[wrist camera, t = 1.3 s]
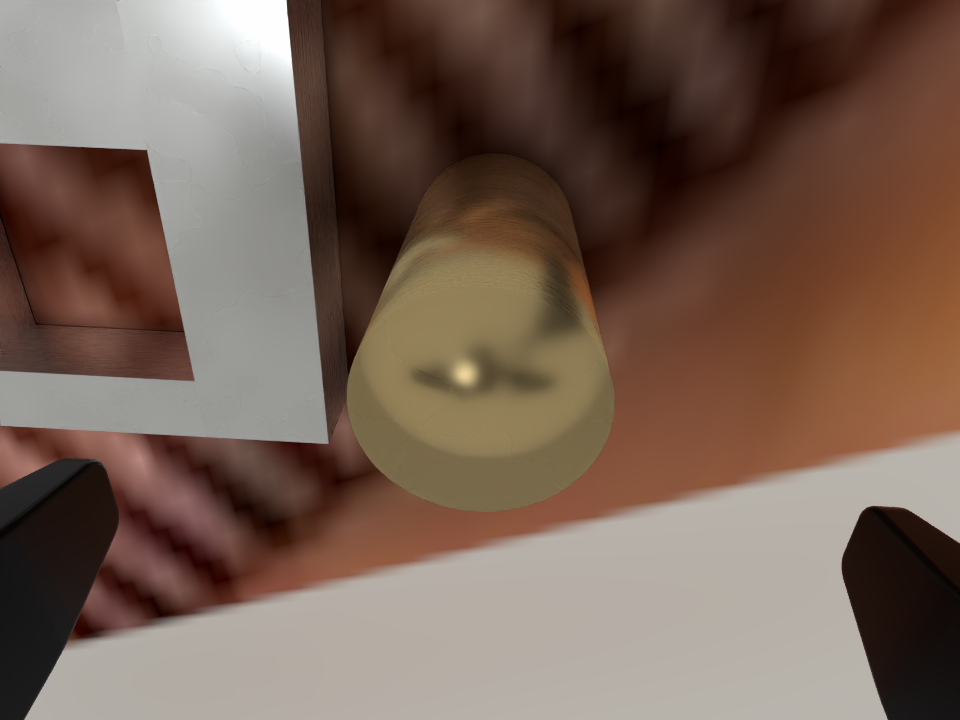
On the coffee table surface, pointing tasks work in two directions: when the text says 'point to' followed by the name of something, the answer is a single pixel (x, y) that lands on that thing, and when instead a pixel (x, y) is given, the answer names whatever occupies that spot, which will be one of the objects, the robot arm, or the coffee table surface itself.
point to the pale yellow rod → (484, 346)
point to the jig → (188, 216)
